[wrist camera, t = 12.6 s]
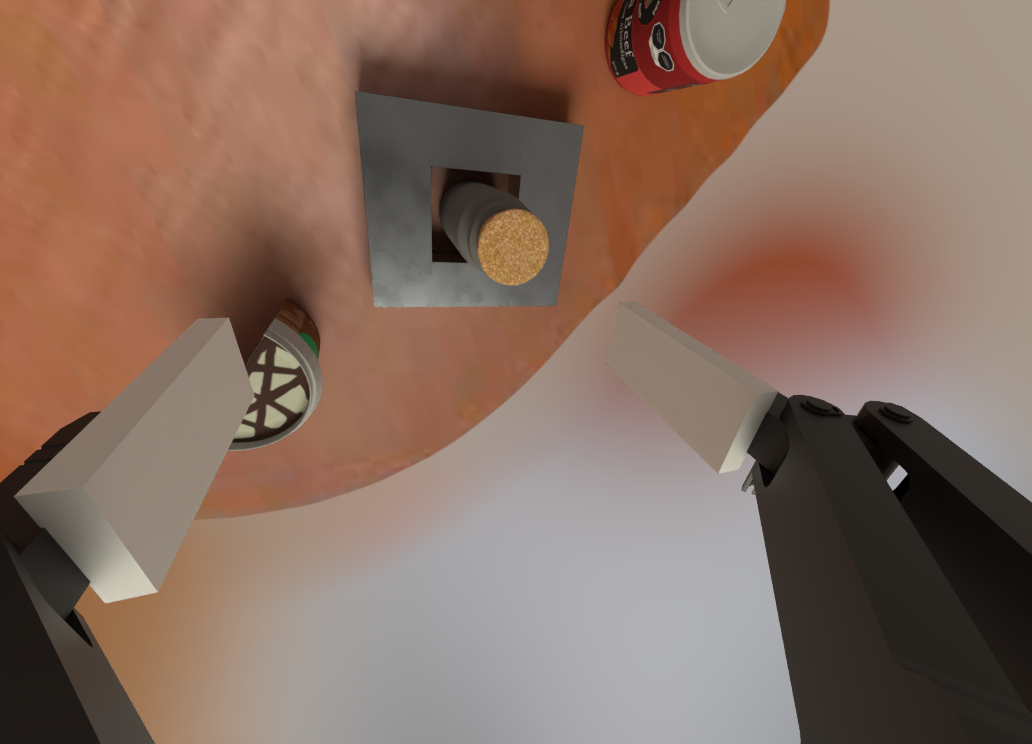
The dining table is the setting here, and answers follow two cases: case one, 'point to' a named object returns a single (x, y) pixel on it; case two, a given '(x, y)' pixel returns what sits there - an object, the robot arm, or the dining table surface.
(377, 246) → the plate
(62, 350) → the dining table surface
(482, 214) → the bottle
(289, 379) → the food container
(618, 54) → the canned food
